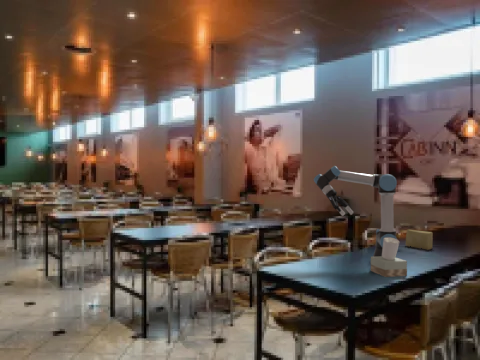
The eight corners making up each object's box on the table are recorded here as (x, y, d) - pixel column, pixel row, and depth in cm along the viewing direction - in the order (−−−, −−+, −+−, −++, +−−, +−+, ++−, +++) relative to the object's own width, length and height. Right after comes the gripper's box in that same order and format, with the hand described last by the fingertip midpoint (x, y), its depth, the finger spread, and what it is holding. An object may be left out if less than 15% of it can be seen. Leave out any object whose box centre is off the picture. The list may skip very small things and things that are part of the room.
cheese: (403, 246, 374) (403, 229, 373) (408, 245, 380) (408, 228, 380) (428, 250, 357) (428, 232, 357) (432, 248, 364) (433, 231, 363)
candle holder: (377, 255, 271) (380, 238, 268) (387, 252, 276) (390, 236, 272) (388, 261, 263) (392, 244, 259) (399, 259, 268) (402, 242, 264)
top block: (391, 263, 279) (392, 256, 279) (406, 268, 264) (406, 261, 264) (370, 264, 275) (370, 256, 275) (384, 269, 260) (384, 261, 260)
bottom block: (391, 270, 280) (391, 263, 280) (406, 276, 264) (407, 268, 264) (370, 271, 275) (370, 264, 275) (385, 277, 260) (385, 269, 260)
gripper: (334, 195, 314) (352, 216, 305) (317, 196, 295) (336, 218, 285) (340, 188, 310) (359, 209, 301) (324, 189, 291) (344, 211, 282)
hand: (348, 214), depth 293 cm, fingers open, 13 cm apart
